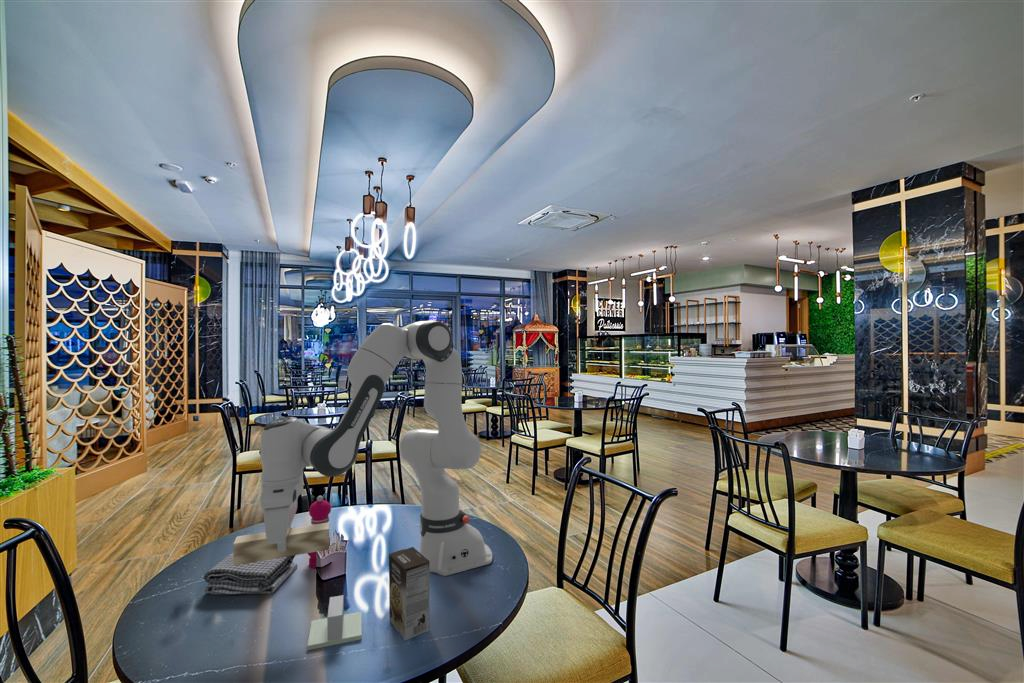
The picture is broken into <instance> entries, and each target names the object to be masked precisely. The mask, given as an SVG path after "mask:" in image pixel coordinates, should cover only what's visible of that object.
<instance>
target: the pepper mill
mask: <svg viewBox="0 0 1024 683" xmlns="http://www.w3.org/2000/svg"><path fill="white" fill-rule="evenodd" d="M331 511H332V505H331V504H330V502H329V501H328V500H326V499H325V500H324V496H322V495H318V496H317V497H316V501H314V502H312V503H311V504H310V507H309V510H308V514H309V516H310V517H311V518H310V521H311V522H310V525H315V524H322V523H328V522H329V523H330V513H331ZM307 555H308V557H309V558H308V566H309V567H310V568H313V569H317V568H316V552H311V553H307Z"/></svg>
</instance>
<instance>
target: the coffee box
mask: <svg viewBox="0 0 1024 683" xmlns="http://www.w3.org/2000/svg"><path fill="white" fill-rule="evenodd" d="M430 573H431V572H430V561H429V560H428V559H426V558H425V557H424V556H423V555H422V554H421V553H419V550H417V549H416V548H415V547H414V546H412V547H408V548H403V549H400V550H397V551H393V552H390V553H389V554H388V579H389V581H388V582H389V585H388V586H389V588H388V589H389V590H388V592H389V593H388V594H389V596H388V597H389V599H388V600H389V622H390V623H391V624H392V626H393V627H394V628H395V629H396V631H397V632H398V633H399V635H400V636H401V637H402V639H403V640H404V641H408V640H410V639H413V638H415V637H417V636H419V635H422V634H424V633H426V632H429V631H430V629H431V628H430V602H431V600H430V598H431V596H430V595H431V594H430V593H431V592H430V590H431V587H430V586H431V585H430V580H431V579H430V577H431V574H430Z"/></svg>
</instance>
